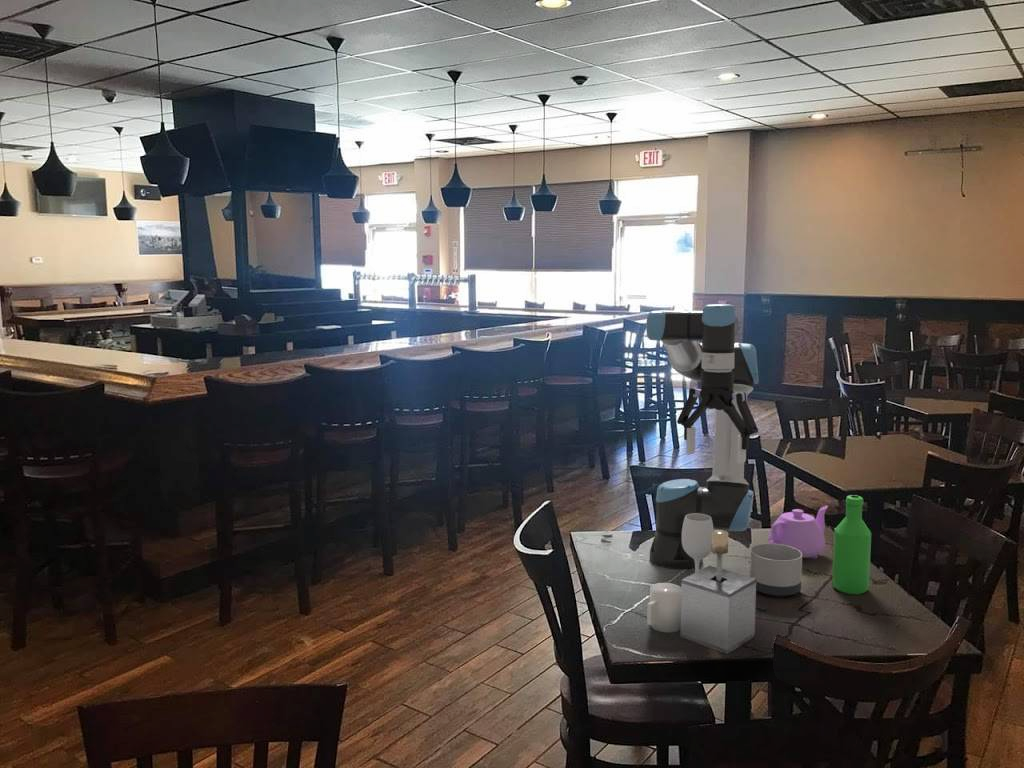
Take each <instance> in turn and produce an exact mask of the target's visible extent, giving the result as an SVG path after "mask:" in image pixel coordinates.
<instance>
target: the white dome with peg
mask: <svg viewBox="0 0 1024 768" xmlns="http://www.w3.org/2000/svg"><path fill="white" fill-rule="evenodd" d="M646 607H647V609H646V611H647V614H646V616H647V617H646V618H647V619H646V624H647V625H649V627H650V628H651V629H653V630H655V631H657V632H660V633H661V632H662V633H675V632H678V631H681V586H680V585H678V584H675V583H670V582H659V583H654V584H652V585H650V586H649V602H648V603H647V605H646Z"/></svg>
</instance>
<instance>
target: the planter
mask: <svg viewBox="0 0 1024 768" xmlns="http://www.w3.org/2000/svg"><path fill="white" fill-rule="evenodd" d="M749 551H750V554H749V577H752V578H755V579H756V592H757V591H758V592H759V593H762V594H763V595H766V596H767V595H768V596H771V597H786V596H792V595H795V594H797V593H799V592H801V590H802V574H803V573H802V572H803V571H802V570H803V558H802V553H801V551H799V550H798V549H796V548H793V547H790V546H786V545H781V544H769V543H761V544H755V545H753V546H752V547H751V548H750V550H749Z"/></svg>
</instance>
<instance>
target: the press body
mask: <svg viewBox="0 0 1024 768" xmlns="http://www.w3.org/2000/svg"><path fill="white" fill-rule="evenodd" d="M716 567H717V566H713V565H708V566H706V567H704V568H702V569H699V571H698V572H696V573H695V572H694V573H692V574H690V575H688V576H686V577H684V578H683V579H681V586H680V587H681V629H680V638H682V639H684V640H686V641H690V642H692V643H696V644H698V645H701V646H702V647H703V646H704V647H706V648H709V649H712V650H714V651H717V650H718V651H717V652H719V651H720V652H719V653H722V652H724V653H723V654H725V653H727V654H726V655H729V654H730V652H731V651H732V652H733V650H734V651H735V650H737V649H738V648H740V647H741V646H742V645H744V644H745V643H747V642H748V641H750V640H751V639H752V638H754V637H755V632H756V598H757V590H756V579H755V578H752V577H750V576H749V575H744V574H741V573H737V572H733V571H730V570H727V569H723V568H722V583H720V582H717V581H716ZM736 648H737V649H736ZM732 652H731V653H732ZM728 653H729V654H728Z"/></svg>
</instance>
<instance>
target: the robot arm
mask: <svg viewBox="0 0 1024 768" xmlns="http://www.w3.org/2000/svg"><path fill="white" fill-rule="evenodd" d="M645 327H646V330H645V331H646V336H647V339H648V340H649V341H656V342H660V341H661V343H662V344H663V346H664V348H665V350H666V351H667V353H668V355H667V356H668V357H667V358H668V362H669V364H670V365H671V367H672V369H674V371H676V372H677V373H678V374H680V375H682V376H684V377H685V378H688V379H690V380H693V381H696V382H700V385H701V388H699V387H698V386H696V387H691V388H689V390H688V397H687V399H686V401H685V404H684V405H683V407H682V409H681V412H680V414H679V416H678V418H677V420H676V423H677V424H678V425H680V426H681V425H682V426H683V432H684V433H683V439H684V441H686V455H693V454H695V453H696V428H697V427H696V426H695V425H694V424H695V423H696V422H697V421H698V420H699V419H700V417H701V416H702V415H704V413H705V412H706V410H707V409H709V410H714V409H715V422H714V436H713V437H714V441H713V442H714V443H713V456H712V457H713V458H712V459H713V460H712V475H711V476H710V477H709V478H708V479H707V480H706V486H700V485H699V483H698V481H697V480H695V479H689V478H679V479H671V480H668V481H664V482H662V483H661V484H659V485H658V487H656V488H657V489H656V498H655V503H656V505H655V506H656V509H655V511H656V513H655V534H654V538H653V541H652V544H651V547H650V549H649V560H650V561H651V562H652V563H653V564H655V565H657V566H659V567H663V568H668V569H674V570H677V569H678V570H682V569H683V570H686V569H692V568H695V561H694V559H693V558H692V557H690V556H689V555H688V554H687V553H686V552H685V550H684V549H683V546H682V527H683V522H684V518H685V516H686V515H687V514H692V513H700V514H706V515H709V516H710V517H711V518H712V522H713V528H714V530H724V531H727V532H744V531H745V530H747V528H748V527H749V522H750V518H751V514H752V508H753V501H754V497H755V496H754V494H755V493H754V491H753V490H751V489H750V488H749V487H750V483H748V481H747V480H746V479H745V478H744V477H745V462H746V461H747V450H749V448H750V439H751V435H754V434H757V433H758V432H759V428H758V426H757V424H756V421H755V418H754V416H753V414H752V412H751V409H750V406H749V404H748V395H749V394H750V393H751V392H753V391H754V385H758V384H759V381H760V380H759V369H758V367H759V366H758V359H757V350H756V349H757V348H756V347H755V346H754V345H753V344H751V343H745V342H744V343H741V342H736V335H737V333H738V331H739V319H738V317H737V315H736V307H735V305H733V304H728V303H726V304H725V303H721V304H720V303H715V304H713V303H711V304H705V305H704V306H703V308H702V310H664V309H661V310H652V311H649V312H648V314H647V318H646V326H645ZM700 397H701V400H702V401H701V402H700V403H699V404H698V405H697V407H696V409H695V410H694V411H693V408H694V406H695V405H696V403H697V402H698V401H697V400H698V398H700ZM692 411H693V412H692ZM703 559H704V558H702V559H701V560H700V564H699V566H701V565H702V564H703V561H704V560H703Z"/></svg>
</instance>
